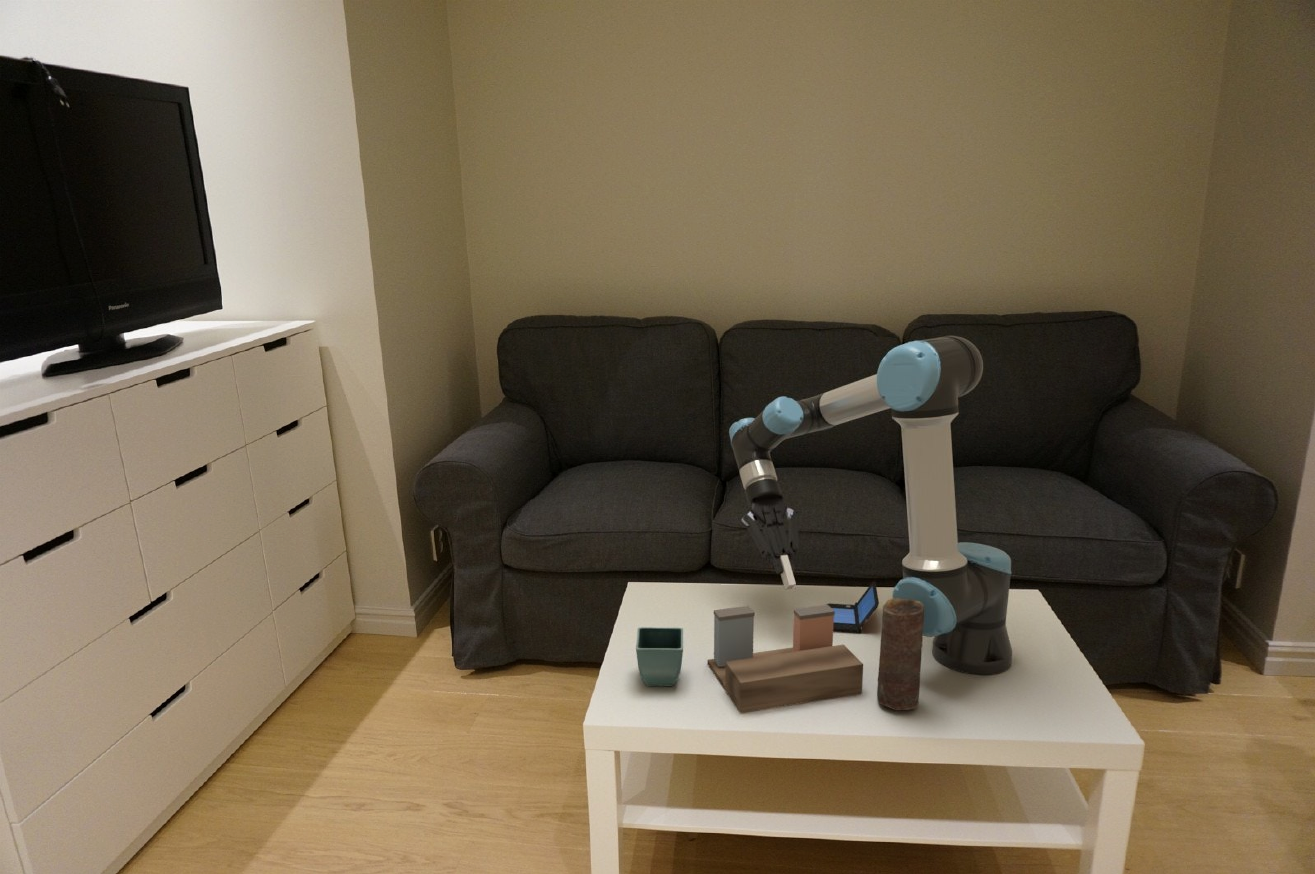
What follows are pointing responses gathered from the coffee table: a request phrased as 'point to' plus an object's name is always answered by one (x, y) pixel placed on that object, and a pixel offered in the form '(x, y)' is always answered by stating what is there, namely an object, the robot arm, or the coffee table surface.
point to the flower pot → (659, 655)
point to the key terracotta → (813, 627)
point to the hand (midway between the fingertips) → (790, 587)
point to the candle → (900, 654)
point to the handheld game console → (855, 612)
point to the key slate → (733, 634)
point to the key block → (790, 677)
